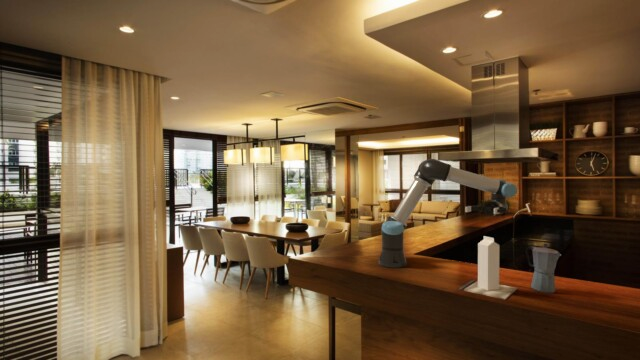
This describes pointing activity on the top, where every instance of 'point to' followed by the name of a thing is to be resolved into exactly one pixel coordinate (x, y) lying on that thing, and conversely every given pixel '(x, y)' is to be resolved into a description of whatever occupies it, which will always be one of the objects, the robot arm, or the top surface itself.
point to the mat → (500, 293)
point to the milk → (488, 264)
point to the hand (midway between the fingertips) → (479, 210)
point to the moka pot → (543, 268)
